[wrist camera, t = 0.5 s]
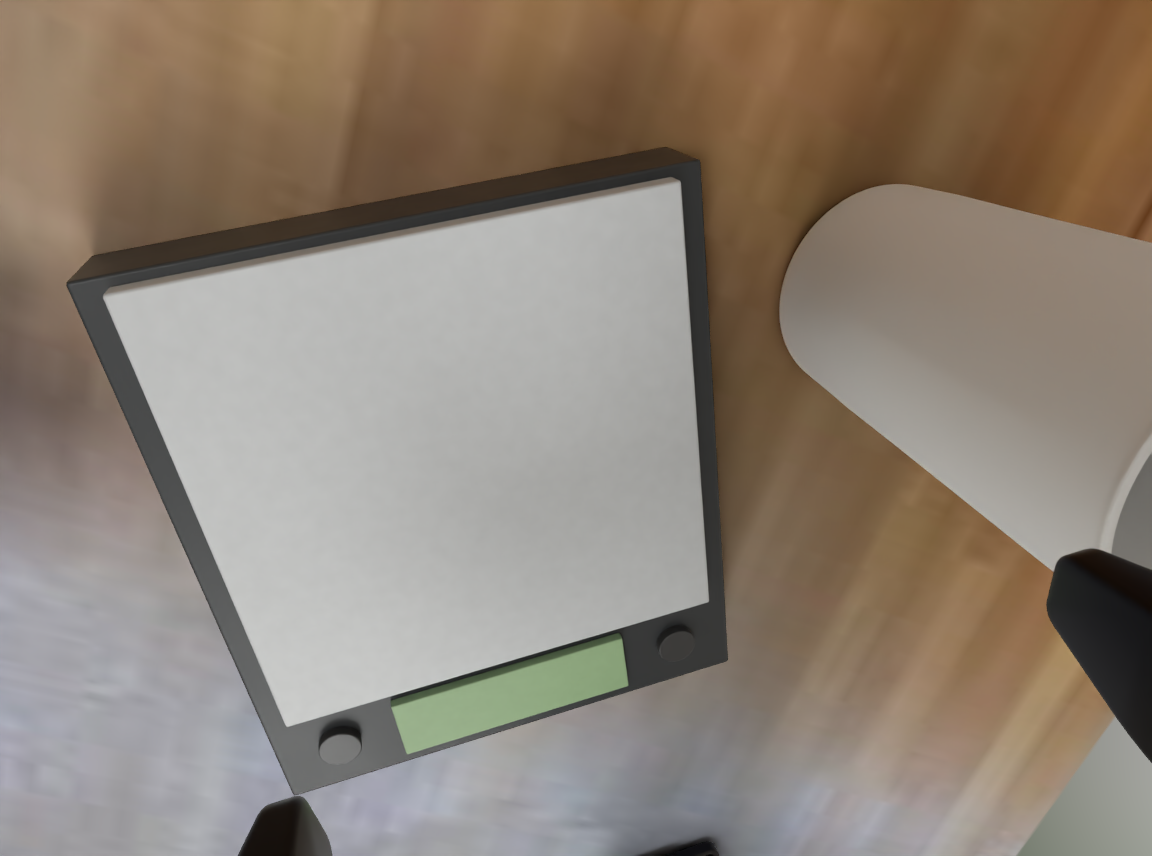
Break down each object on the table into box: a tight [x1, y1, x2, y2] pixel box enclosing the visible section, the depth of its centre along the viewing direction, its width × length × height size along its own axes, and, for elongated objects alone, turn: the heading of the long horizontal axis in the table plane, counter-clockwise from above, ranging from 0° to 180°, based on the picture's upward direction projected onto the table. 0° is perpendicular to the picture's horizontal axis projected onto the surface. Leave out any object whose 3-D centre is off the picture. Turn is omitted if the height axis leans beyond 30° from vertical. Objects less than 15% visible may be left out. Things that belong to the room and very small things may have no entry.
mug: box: [779, 184, 1152, 572], centre depth 20 cm, size 10×7×12 cm, turn 68°
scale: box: [67, 147, 728, 795], centre depth 22 cm, size 16×14×3 cm
